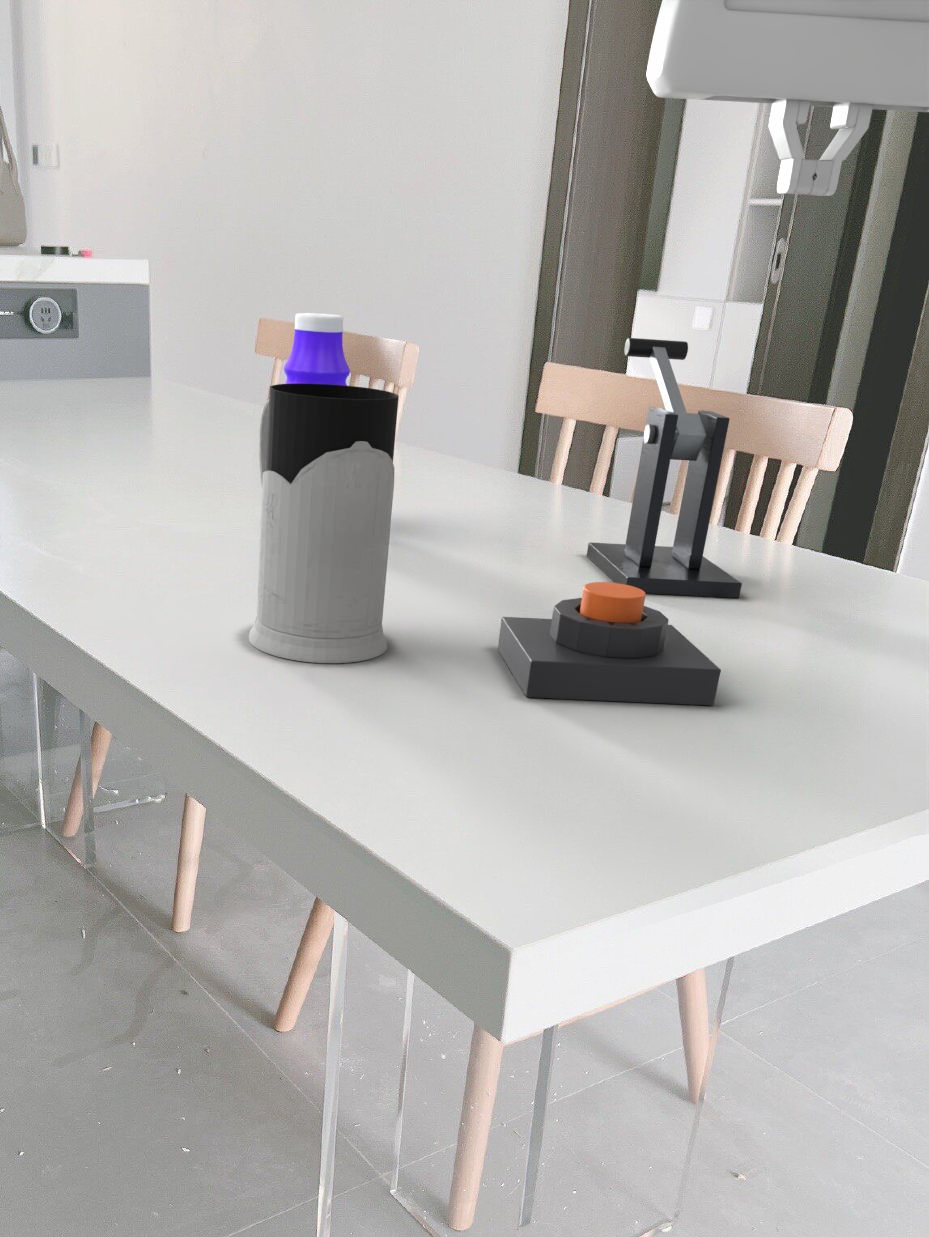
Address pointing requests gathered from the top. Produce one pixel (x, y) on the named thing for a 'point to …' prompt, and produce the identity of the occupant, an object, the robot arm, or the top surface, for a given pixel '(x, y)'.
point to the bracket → (684, 561)
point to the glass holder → (324, 521)
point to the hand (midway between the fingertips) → (805, 194)
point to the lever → (671, 392)
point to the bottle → (317, 351)
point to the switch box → (606, 659)
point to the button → (612, 602)
